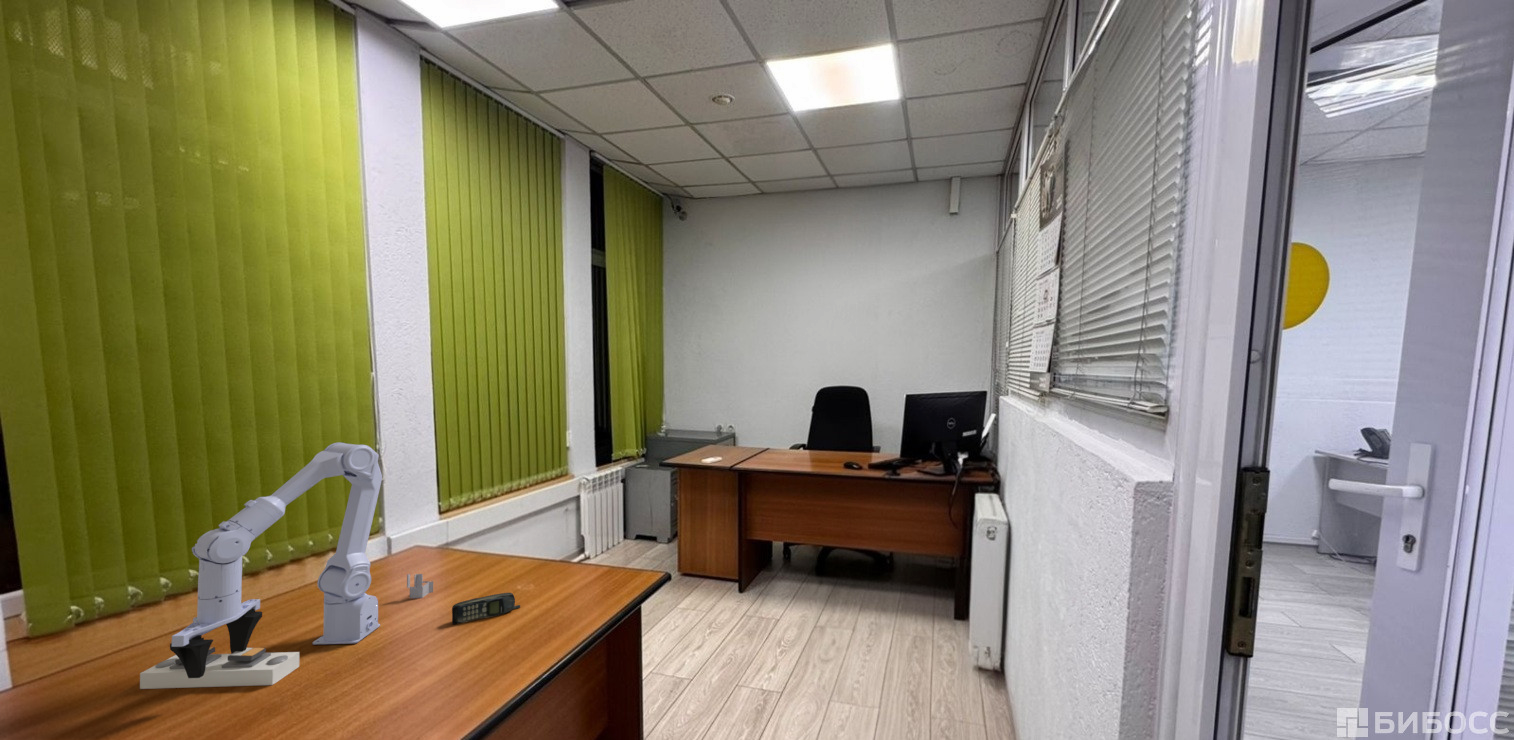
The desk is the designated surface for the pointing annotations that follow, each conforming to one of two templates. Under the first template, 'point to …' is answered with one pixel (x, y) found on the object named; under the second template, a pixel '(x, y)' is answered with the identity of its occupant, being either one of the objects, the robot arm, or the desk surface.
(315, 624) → the desk surface
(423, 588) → the architectural model
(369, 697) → the desk surface
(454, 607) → the mobile phone
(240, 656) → the rocker
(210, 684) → the rocker switch panel
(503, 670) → the desk surface
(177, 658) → the rocker
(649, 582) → the desk surface
